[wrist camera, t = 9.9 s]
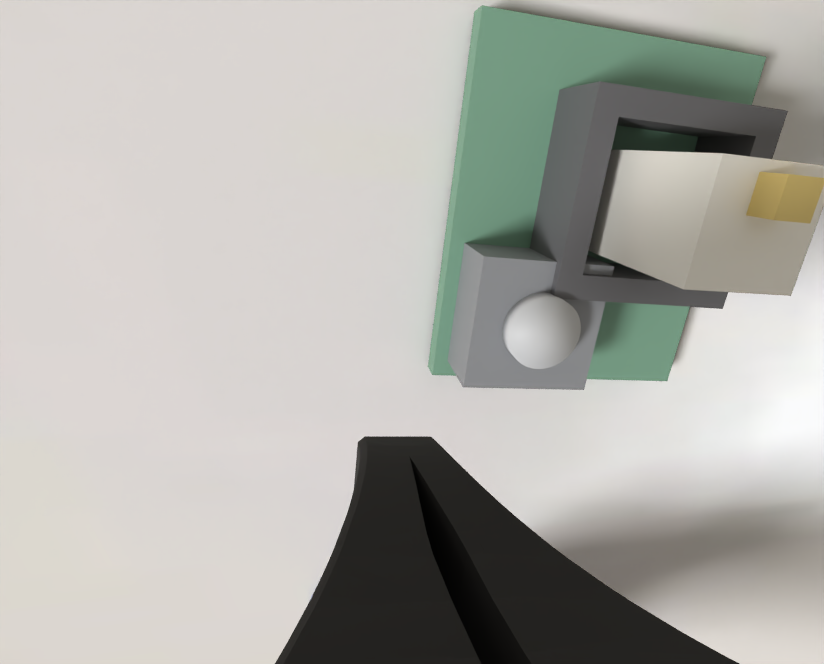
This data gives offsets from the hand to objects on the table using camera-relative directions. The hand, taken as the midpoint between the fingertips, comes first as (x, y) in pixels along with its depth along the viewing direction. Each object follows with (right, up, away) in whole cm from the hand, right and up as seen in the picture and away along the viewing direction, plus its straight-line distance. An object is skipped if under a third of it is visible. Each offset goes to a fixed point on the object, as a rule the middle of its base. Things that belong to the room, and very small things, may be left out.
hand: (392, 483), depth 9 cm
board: (+6, +7, +9) cm, 13 cm away
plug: (+8, +7, +9) cm, 14 cm away
